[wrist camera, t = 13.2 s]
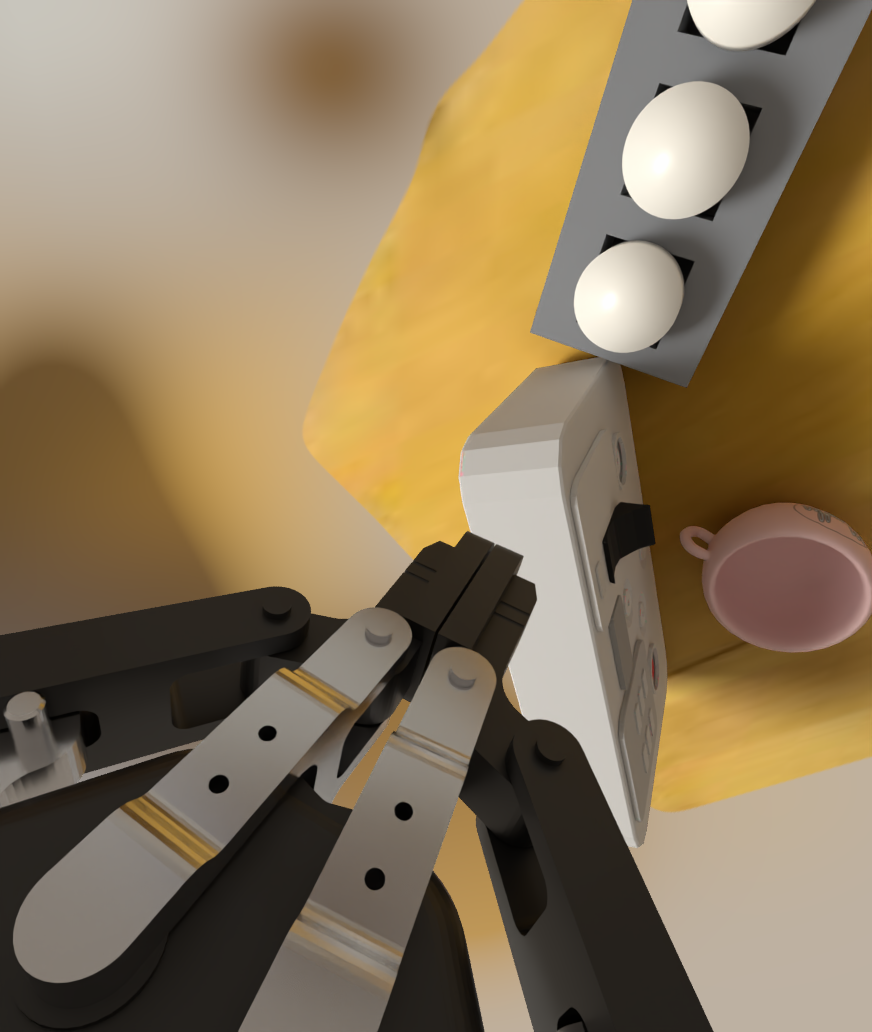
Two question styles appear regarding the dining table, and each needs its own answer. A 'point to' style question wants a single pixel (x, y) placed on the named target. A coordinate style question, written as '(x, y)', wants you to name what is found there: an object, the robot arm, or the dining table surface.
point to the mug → (785, 577)
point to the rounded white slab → (578, 569)
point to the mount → (748, 204)
